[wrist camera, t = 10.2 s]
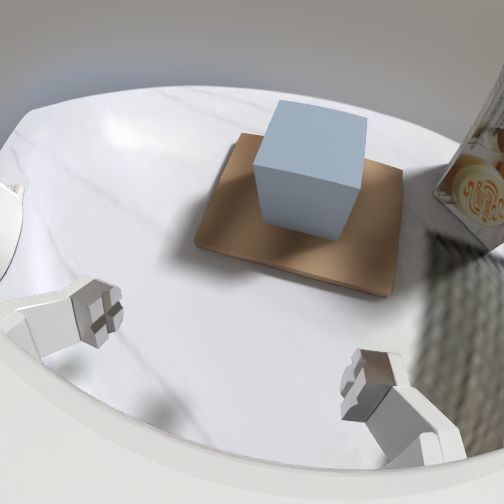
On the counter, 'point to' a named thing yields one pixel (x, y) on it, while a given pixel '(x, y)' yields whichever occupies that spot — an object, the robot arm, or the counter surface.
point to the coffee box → (479, 173)
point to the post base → (301, 244)
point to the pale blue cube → (310, 168)
